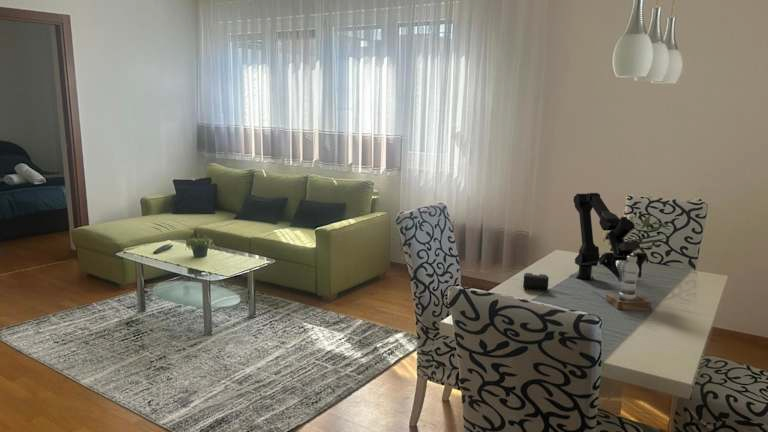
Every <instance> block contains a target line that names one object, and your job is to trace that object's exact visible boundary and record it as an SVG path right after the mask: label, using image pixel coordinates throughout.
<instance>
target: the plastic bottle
mask: <svg viewBox="0 0 768 432" xmlns="http://www.w3.org/2000/svg"><path fill="white" fill-rule="evenodd" d="M626 260H627V261H625V262H623V264H622V266H621V284H620V289H619V290H620V292H619V295H618V299H619V300H620V301H622V302H623V301H636V294H635V293H637V292H636V290H637V289H636V288H637V287H636V286H637V281H638V278H639V277H638V273H639V267H638V265H637V263H636V261H637V256H635V254H634V255H633V254H630V255H627V258H626Z"/></svg>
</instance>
